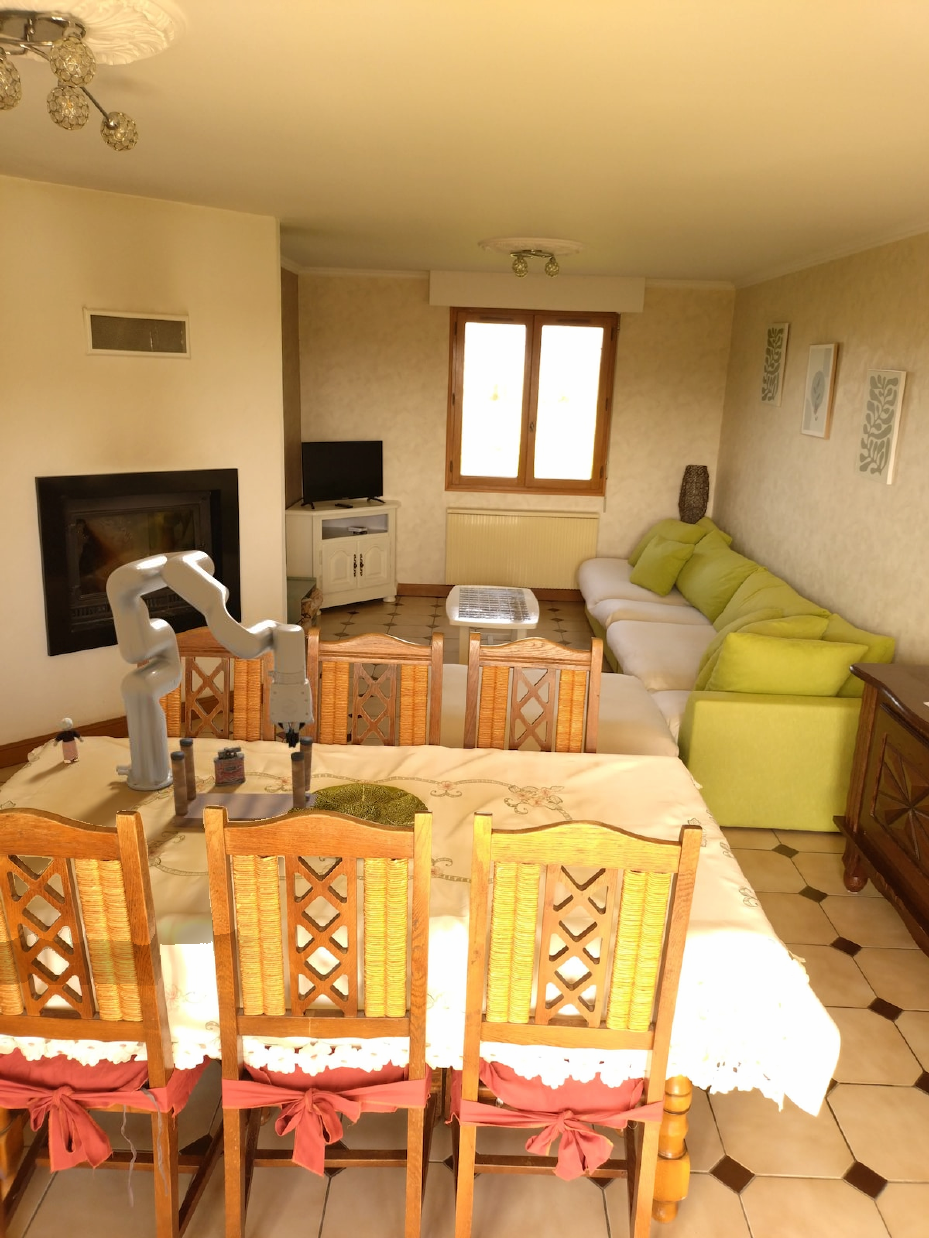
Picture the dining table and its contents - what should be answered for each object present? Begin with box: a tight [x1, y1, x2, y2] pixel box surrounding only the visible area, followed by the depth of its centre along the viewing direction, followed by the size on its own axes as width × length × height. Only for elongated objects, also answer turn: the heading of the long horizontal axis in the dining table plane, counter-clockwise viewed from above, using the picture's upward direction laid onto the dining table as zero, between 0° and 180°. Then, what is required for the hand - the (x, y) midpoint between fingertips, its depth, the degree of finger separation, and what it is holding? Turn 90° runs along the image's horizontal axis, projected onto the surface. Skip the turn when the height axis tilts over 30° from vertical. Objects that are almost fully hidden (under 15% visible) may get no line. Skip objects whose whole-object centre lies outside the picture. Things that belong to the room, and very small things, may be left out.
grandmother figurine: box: [52, 717, 84, 761], centre depth 260 cm, size 8×4×13 cm, turn 133°
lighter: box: [213, 745, 246, 788], centre depth 249 cm, size 8×3×10 cm, turn 117°
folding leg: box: [299, 736, 314, 793], centre depth 235 cm, size 14×3×3 cm
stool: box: [169, 737, 318, 828], centre depth 231 cm, size 33×13×18 cm, turn 91°
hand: (292, 745), depth 233 cm, fingers closed
